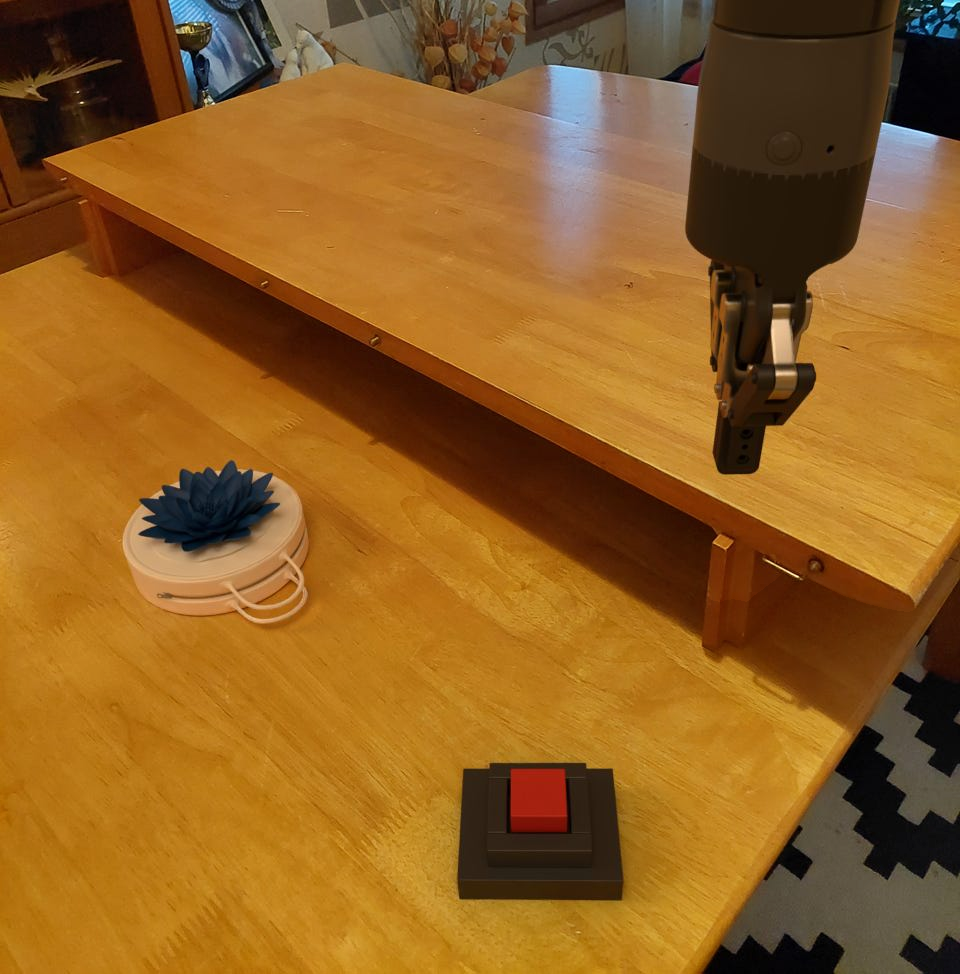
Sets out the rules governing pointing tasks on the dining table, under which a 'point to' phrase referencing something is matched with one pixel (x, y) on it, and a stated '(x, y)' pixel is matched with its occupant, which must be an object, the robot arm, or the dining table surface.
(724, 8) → the robot arm
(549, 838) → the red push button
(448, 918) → the dining table surface
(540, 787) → the red button cap
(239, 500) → the lotus flower trinket box
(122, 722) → the dining table surface
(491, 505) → the dining table surface
